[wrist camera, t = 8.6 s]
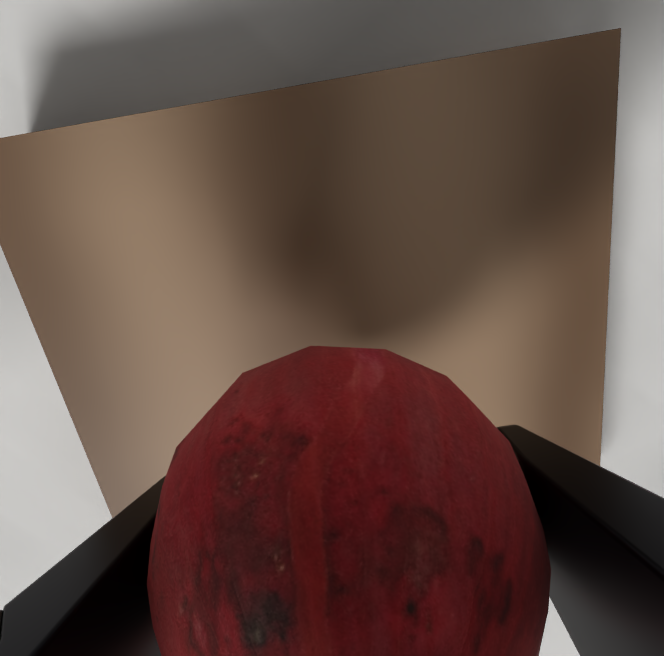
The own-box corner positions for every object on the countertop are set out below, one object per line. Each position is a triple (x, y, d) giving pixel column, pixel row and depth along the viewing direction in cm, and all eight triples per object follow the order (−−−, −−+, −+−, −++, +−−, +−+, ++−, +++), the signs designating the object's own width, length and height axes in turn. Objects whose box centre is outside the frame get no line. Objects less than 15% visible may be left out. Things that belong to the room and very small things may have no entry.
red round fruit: (164, 355, 10) (-244, 876, 3) (408, 246, 10) (703, 574, 2) (283, 541, 12) (218, 1150, 5) (495, 463, 12) (812, 1039, 4)
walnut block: (553, 55, 12) (621, 27, 10) (551, 485, 17) (595, 550, 15) (38, 146, 13) (-41, 145, 10) (178, 539, 18) (151, 612, 15)
